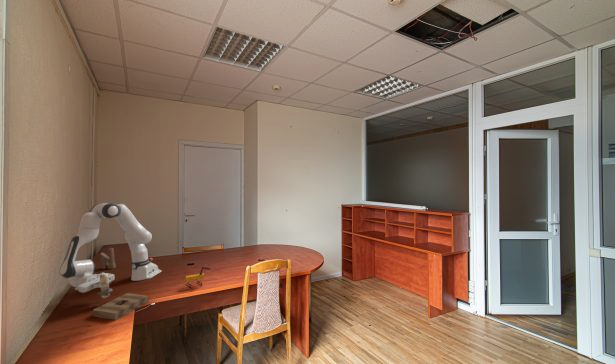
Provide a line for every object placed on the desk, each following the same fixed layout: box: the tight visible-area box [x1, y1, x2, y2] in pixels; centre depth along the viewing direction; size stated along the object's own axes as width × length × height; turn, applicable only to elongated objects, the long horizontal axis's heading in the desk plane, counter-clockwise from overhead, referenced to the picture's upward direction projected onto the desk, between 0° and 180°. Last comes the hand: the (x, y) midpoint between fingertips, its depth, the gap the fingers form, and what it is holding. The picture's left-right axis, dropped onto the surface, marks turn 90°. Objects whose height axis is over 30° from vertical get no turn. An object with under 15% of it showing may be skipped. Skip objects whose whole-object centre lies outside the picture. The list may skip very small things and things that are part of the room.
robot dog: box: [183, 266, 211, 289], centre depth 200 cm, size 6×18×13 cm, turn 109°
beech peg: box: [97, 272, 114, 299], centre depth 178 cm, size 8×8×15 cm
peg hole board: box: [92, 292, 150, 321], centre depth 171 cm, size 22×18×4 cm
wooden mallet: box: [100, 247, 117, 270], centre depth 246 cm, size 4×11×18 cm, turn 90°
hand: (105, 283), depth 178 cm, fingers closed on beech peg, 4 cm apart
